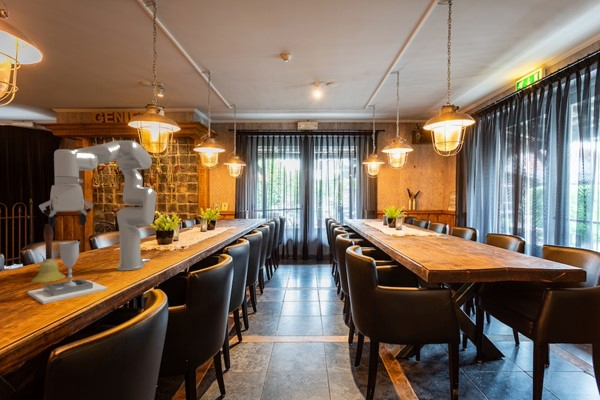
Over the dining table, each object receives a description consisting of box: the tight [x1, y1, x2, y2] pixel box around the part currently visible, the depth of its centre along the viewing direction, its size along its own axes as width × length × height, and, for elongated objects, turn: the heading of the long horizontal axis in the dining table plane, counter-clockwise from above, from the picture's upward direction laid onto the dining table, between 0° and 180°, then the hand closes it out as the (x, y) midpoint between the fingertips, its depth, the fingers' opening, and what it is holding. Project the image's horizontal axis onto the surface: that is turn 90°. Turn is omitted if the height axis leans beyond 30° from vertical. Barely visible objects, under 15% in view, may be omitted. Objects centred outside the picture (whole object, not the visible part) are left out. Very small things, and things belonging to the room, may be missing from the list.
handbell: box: [30, 223, 67, 284], centre depth 141 cm, size 12×12×25 cm
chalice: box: [57, 241, 81, 288], centre depth 121 cm, size 7×7×18 cm
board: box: [27, 279, 109, 305], centre depth 120 cm, size 20×20×1 cm
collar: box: [42, 278, 93, 296], centre depth 120 cm, size 12×12×2 cm
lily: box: [36, 252, 46, 274], centre depth 155 cm, size 12×12×10 cm
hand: (68, 226), depth 121 cm, fingers open, 9 cm apart
